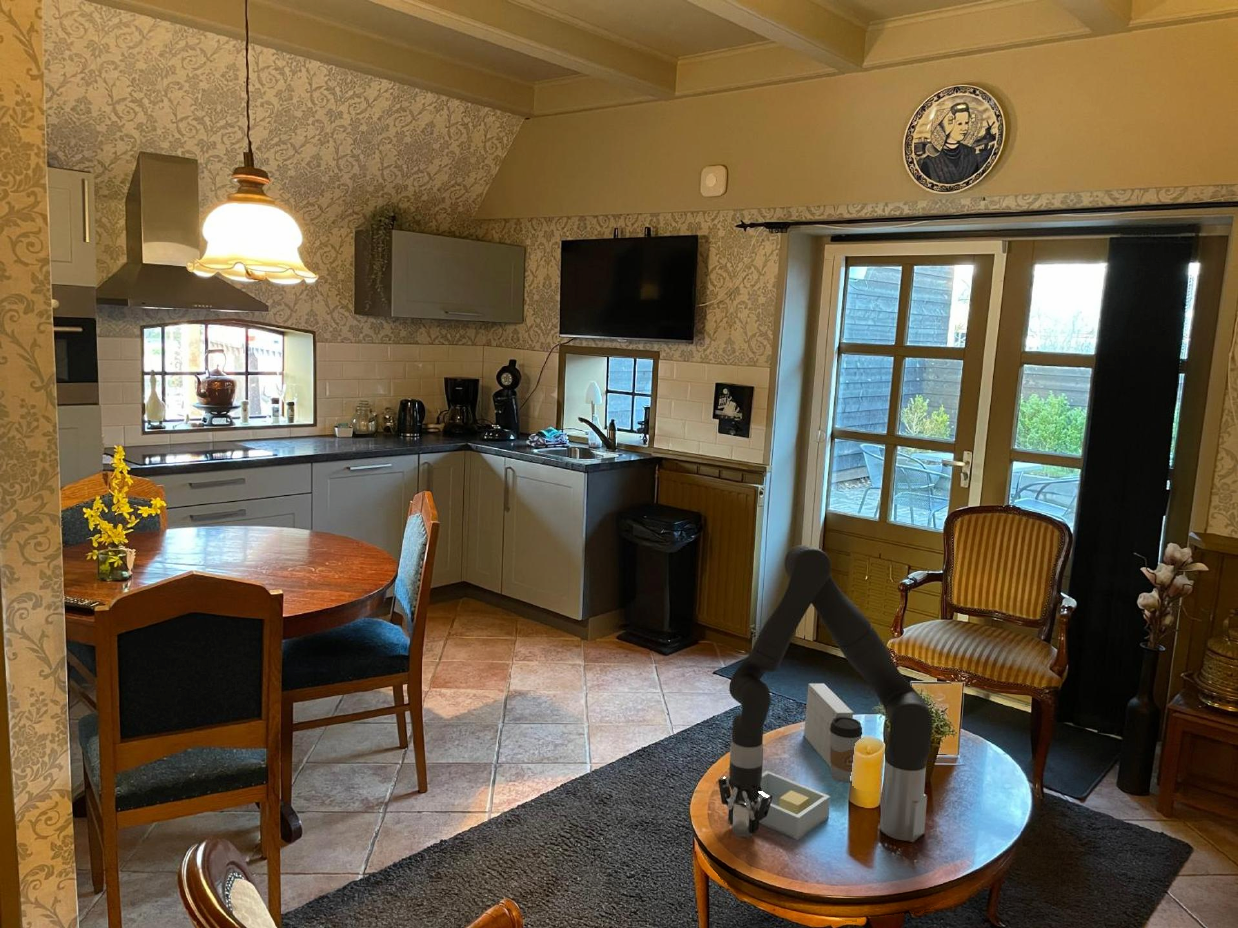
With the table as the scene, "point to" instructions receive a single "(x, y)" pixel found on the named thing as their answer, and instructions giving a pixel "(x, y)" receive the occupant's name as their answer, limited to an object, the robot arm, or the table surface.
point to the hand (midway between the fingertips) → (743, 827)
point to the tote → (785, 819)
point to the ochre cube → (794, 802)
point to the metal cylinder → (741, 819)
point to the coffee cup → (843, 746)
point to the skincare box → (822, 717)
